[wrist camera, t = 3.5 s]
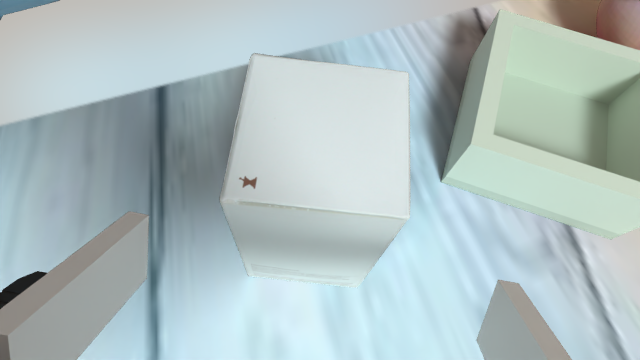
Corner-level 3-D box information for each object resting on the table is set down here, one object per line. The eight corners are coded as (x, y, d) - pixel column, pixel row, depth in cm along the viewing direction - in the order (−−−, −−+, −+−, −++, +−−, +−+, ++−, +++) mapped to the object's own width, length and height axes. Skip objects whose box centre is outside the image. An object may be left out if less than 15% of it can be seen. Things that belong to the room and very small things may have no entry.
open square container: (441, 182, 30) (471, 143, 25) (470, 60, 35) (499, 9, 30) (611, 239, 29) (677, 211, 24) (615, 105, 34) (670, 59, 29)
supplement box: (360, 291, 26) (413, 226, 15) (244, 277, 26) (210, 201, 15) (366, 187, 30) (414, 68, 18) (263, 174, 29) (247, 47, 18)
